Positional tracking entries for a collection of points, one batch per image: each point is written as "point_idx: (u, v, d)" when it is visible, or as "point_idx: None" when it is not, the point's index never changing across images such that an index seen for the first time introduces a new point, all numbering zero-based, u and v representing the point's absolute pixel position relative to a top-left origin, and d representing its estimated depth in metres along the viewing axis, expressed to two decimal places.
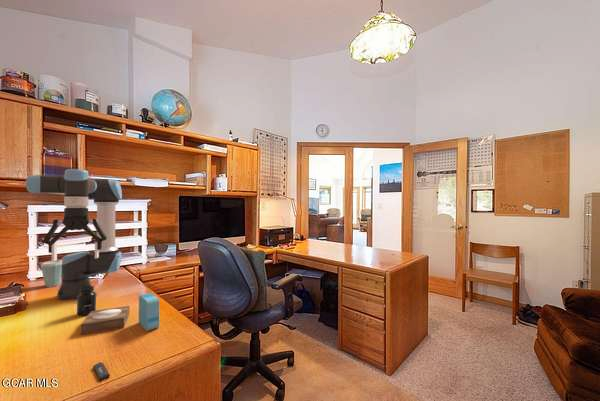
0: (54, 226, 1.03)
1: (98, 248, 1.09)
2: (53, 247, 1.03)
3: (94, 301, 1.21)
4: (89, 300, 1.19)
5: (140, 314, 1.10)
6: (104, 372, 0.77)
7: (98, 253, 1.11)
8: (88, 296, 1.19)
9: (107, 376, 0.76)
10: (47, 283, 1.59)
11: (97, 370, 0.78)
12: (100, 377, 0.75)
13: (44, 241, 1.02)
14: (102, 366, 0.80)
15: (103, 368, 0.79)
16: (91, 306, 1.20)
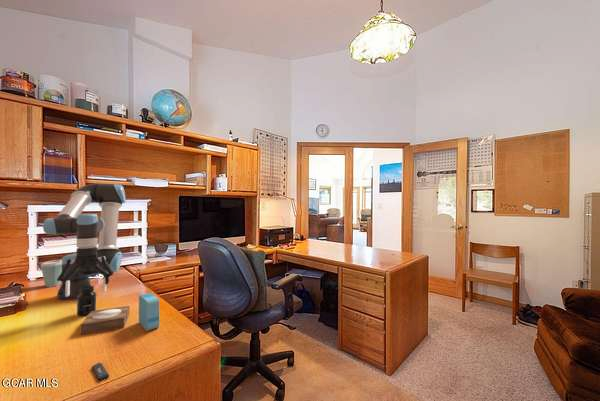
0: (68, 265, 1.17)
1: (106, 283, 1.23)
2: (67, 284, 1.17)
3: (94, 301, 1.21)
4: (89, 300, 1.19)
5: (140, 314, 1.10)
6: (103, 372, 0.77)
7: None
8: (87, 296, 1.19)
9: (106, 376, 0.76)
10: (47, 283, 1.59)
11: (96, 370, 0.78)
12: (99, 377, 0.75)
13: (59, 279, 1.16)
14: (101, 366, 0.80)
15: (102, 368, 0.79)
16: (91, 306, 1.20)
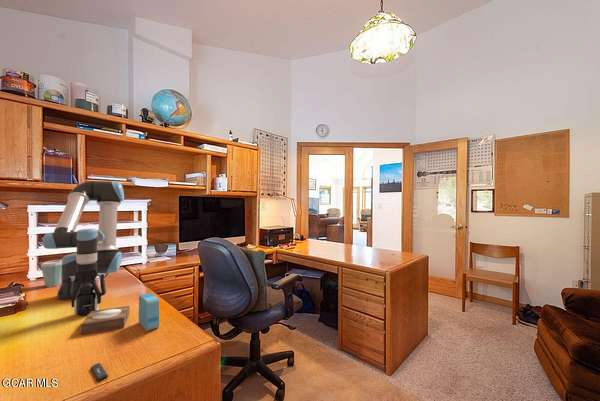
0: (70, 283, 1.17)
1: (98, 302, 1.22)
2: (75, 302, 1.18)
3: (94, 301, 1.21)
4: (89, 300, 1.19)
5: (140, 314, 1.10)
6: (102, 373, 0.77)
7: None
8: (87, 296, 1.19)
9: (105, 377, 0.75)
10: (47, 283, 1.59)
11: (95, 371, 0.78)
12: (98, 378, 0.75)
13: (67, 297, 1.17)
14: (100, 367, 0.79)
15: (101, 369, 0.78)
16: (91, 306, 1.20)
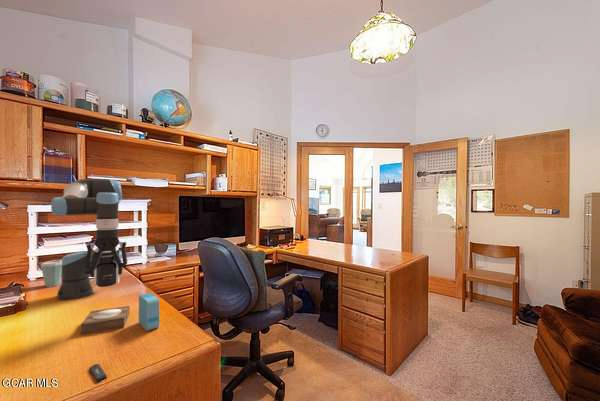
0: (89, 250, 1.07)
1: (119, 273, 1.12)
2: (95, 272, 1.08)
3: (115, 271, 1.11)
4: (110, 270, 1.09)
5: (140, 314, 1.10)
6: (101, 373, 0.76)
7: None
8: (108, 265, 1.08)
9: (104, 377, 0.75)
10: (47, 283, 1.59)
11: (94, 371, 0.78)
12: (97, 378, 0.75)
13: (87, 266, 1.07)
14: (99, 367, 0.79)
15: (100, 369, 0.78)
16: (112, 277, 1.09)
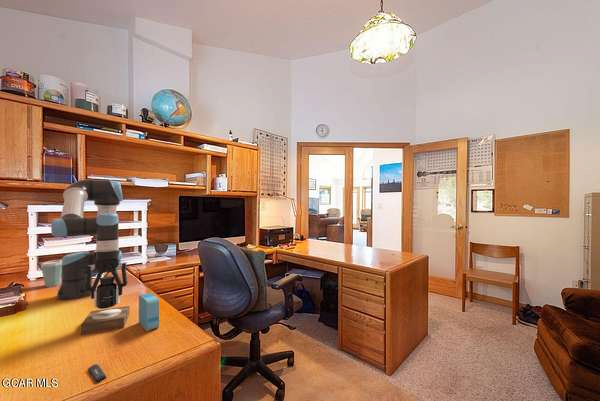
0: (89, 272, 1.07)
1: (119, 294, 1.12)
2: (95, 293, 1.08)
3: (115, 292, 1.11)
4: (110, 291, 1.08)
5: (140, 314, 1.10)
6: (100, 374, 0.76)
7: None
8: (108, 286, 1.08)
9: (103, 377, 0.75)
10: (47, 283, 1.59)
11: (93, 372, 0.77)
12: (96, 379, 0.74)
13: (87, 288, 1.06)
14: (98, 368, 0.79)
15: (99, 370, 0.78)
16: (112, 298, 1.09)
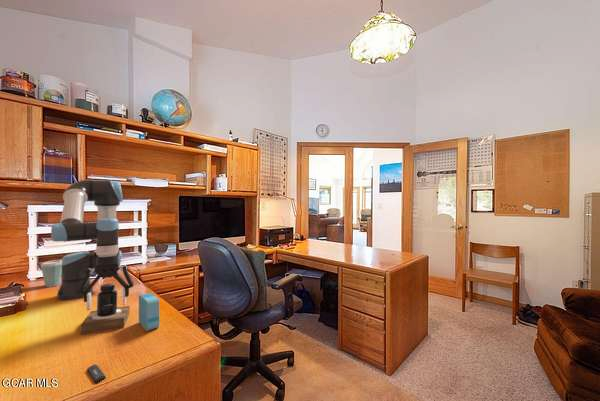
0: (87, 276, 1.07)
1: (126, 295, 1.13)
2: (88, 296, 1.07)
3: (115, 300, 1.11)
4: (111, 299, 1.09)
5: (140, 314, 1.10)
6: (99, 374, 0.76)
7: (125, 299, 1.14)
8: (109, 294, 1.08)
9: (103, 378, 0.75)
10: (47, 283, 1.59)
11: (92, 372, 0.77)
12: (96, 379, 0.74)
13: (80, 291, 1.06)
14: (97, 368, 0.79)
15: (98, 370, 0.78)
16: (112, 306, 1.09)
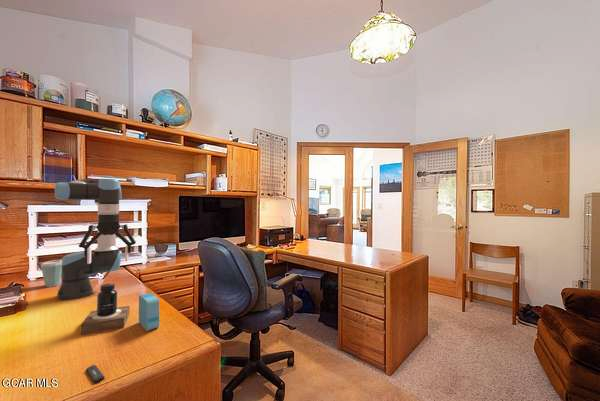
0: (89, 231, 1.12)
1: (128, 251, 1.18)
2: (88, 251, 1.11)
3: (115, 300, 1.11)
4: (111, 299, 1.09)
5: (140, 314, 1.10)
6: (98, 374, 0.76)
7: None
8: (109, 294, 1.08)
9: (102, 378, 0.75)
10: (47, 283, 1.59)
11: (91, 373, 0.77)
12: (95, 379, 0.74)
13: (80, 245, 1.10)
14: (96, 368, 0.79)
15: (97, 370, 0.78)
16: (112, 306, 1.09)
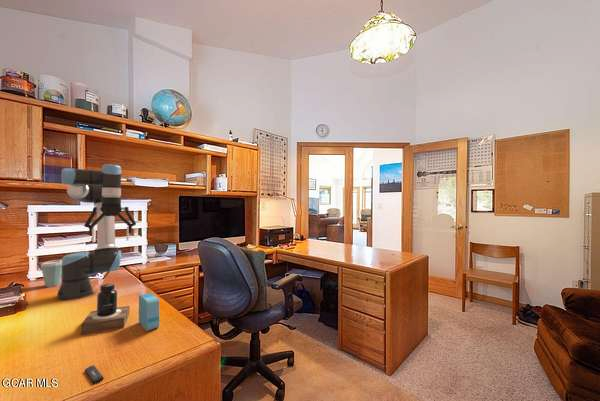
0: (94, 212, 1.22)
1: (129, 232, 1.29)
2: (93, 230, 1.22)
3: (115, 300, 1.11)
4: (110, 299, 1.09)
5: (140, 314, 1.10)
6: (97, 375, 0.76)
7: None
8: (108, 294, 1.08)
9: (101, 379, 0.75)
10: (47, 283, 1.59)
11: (90, 373, 0.77)
12: (94, 380, 0.74)
13: (86, 225, 1.21)
14: (95, 369, 0.78)
15: (96, 371, 0.77)
16: (112, 306, 1.09)
